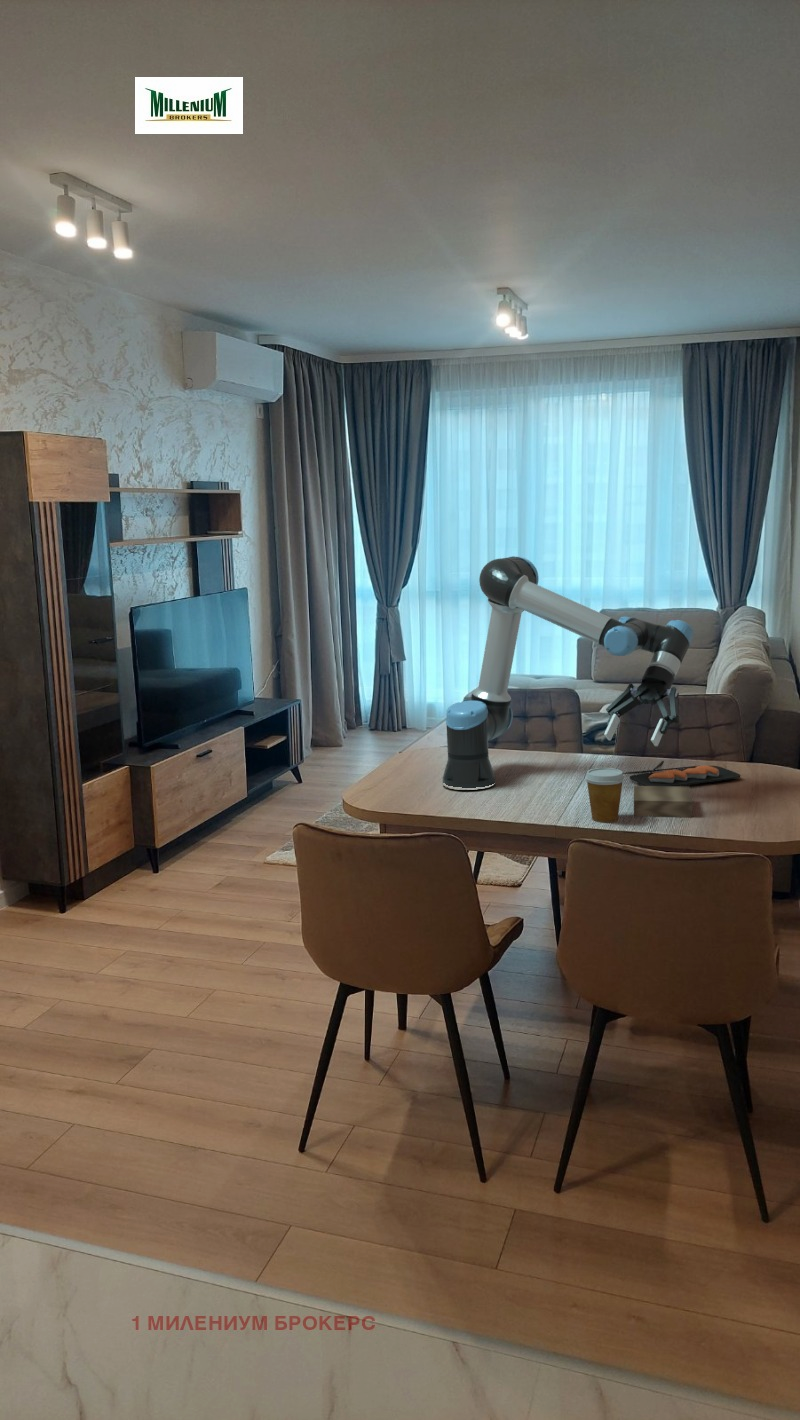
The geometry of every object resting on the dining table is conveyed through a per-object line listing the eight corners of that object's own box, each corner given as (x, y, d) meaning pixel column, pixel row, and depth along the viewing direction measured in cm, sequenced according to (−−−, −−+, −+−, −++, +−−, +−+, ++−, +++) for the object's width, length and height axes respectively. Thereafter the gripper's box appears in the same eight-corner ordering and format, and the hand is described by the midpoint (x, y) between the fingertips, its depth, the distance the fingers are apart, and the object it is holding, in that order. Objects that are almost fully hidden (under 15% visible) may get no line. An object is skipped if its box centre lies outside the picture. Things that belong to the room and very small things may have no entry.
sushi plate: (651, 794, 267) (652, 781, 266) (599, 770, 296) (599, 757, 295) (745, 782, 275) (745, 769, 274) (685, 759, 303) (685, 747, 303)
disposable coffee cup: (622, 813, 250) (621, 767, 248) (626, 824, 241) (626, 776, 239) (583, 813, 251) (583, 767, 249) (587, 824, 242) (586, 777, 240)
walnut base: (633, 815, 247) (633, 800, 247) (633, 800, 261) (633, 785, 260) (692, 817, 244) (692, 801, 243) (689, 801, 257) (689, 786, 257)
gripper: (710, 684, 251) (680, 754, 243) (625, 678, 269) (594, 743, 261) (699, 667, 246) (668, 737, 239) (613, 661, 264) (582, 727, 256)
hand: (630, 740), depth 250 cm, fingers open, 13 cm apart
